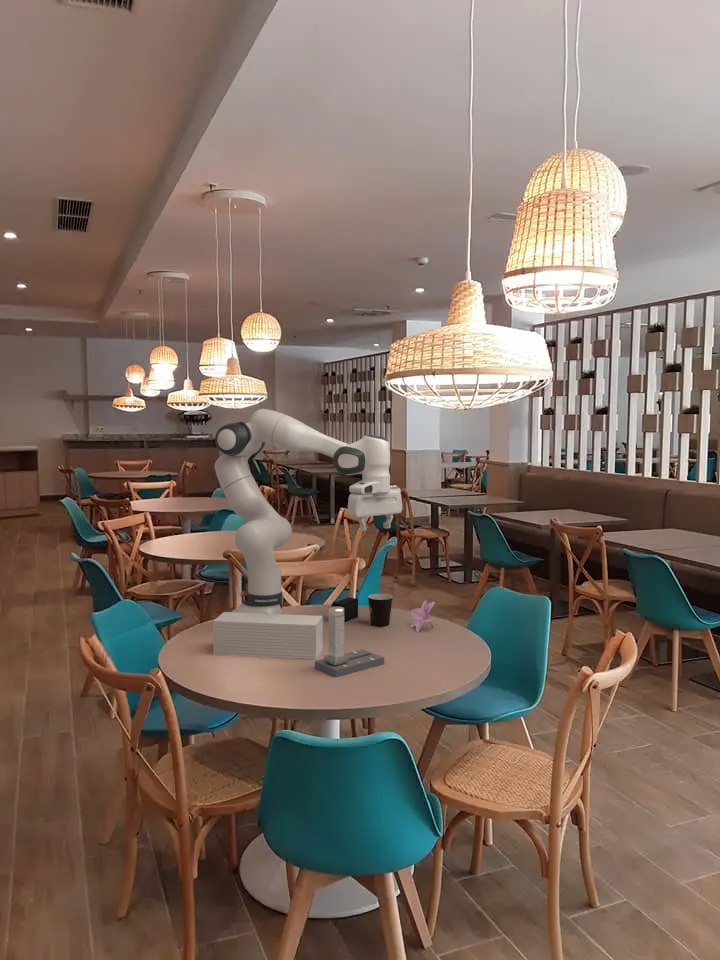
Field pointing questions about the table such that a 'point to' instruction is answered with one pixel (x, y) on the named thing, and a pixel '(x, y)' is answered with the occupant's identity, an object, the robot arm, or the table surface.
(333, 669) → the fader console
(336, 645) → the lever
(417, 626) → the lily
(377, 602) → the coffee mug
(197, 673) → the table surface
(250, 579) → the robot arm
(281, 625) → the stack of papers
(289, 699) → the table surface
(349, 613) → the digital camera
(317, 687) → the table surface
